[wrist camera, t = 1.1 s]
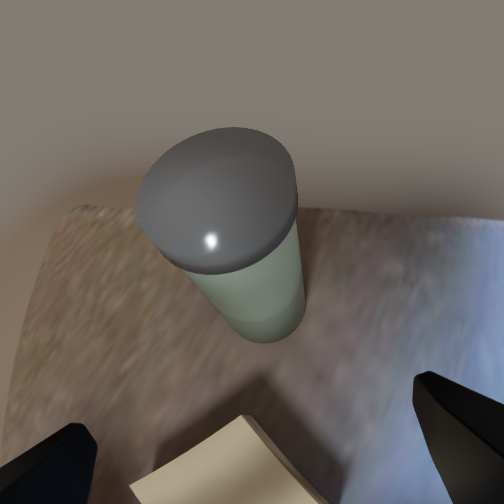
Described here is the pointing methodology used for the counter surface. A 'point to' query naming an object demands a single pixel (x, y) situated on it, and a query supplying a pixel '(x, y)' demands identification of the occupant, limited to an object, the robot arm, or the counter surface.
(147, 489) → the maple board
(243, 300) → the spice jar
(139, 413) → the counter surface
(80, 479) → the robot arm
